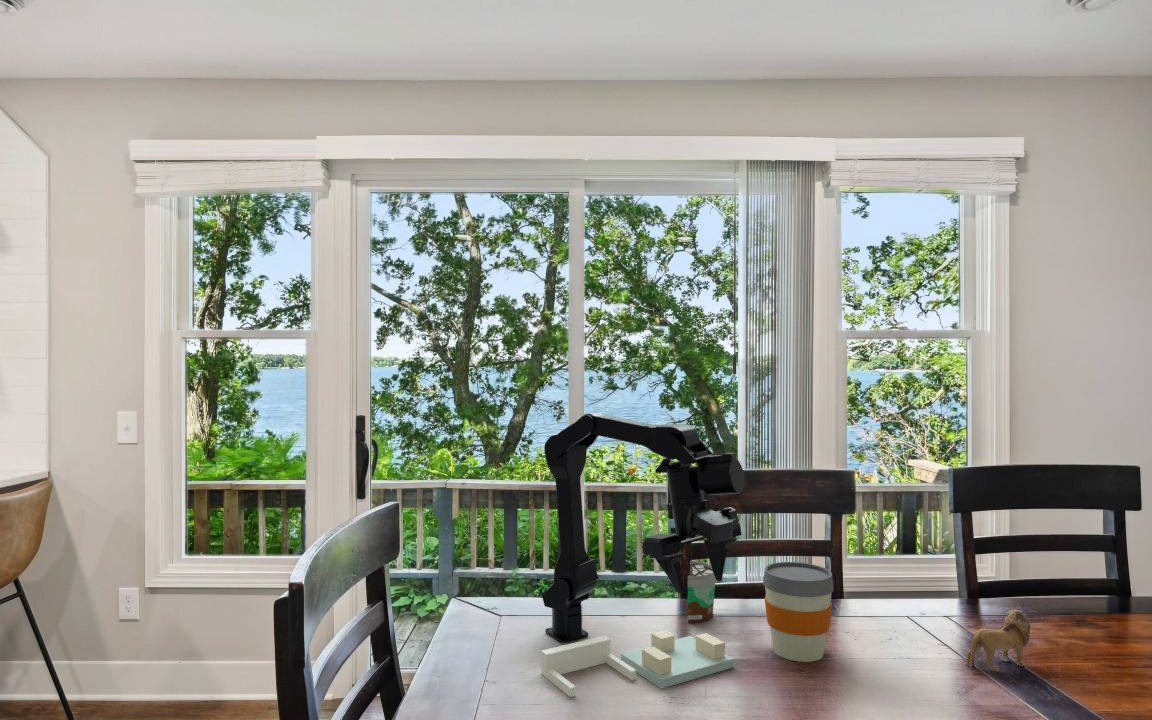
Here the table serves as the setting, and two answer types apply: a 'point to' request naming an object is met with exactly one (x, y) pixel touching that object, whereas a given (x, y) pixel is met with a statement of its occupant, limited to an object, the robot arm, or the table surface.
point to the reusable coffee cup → (798, 609)
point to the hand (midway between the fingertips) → (700, 586)
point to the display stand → (678, 658)
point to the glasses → (580, 661)
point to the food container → (700, 592)
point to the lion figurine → (1002, 639)
